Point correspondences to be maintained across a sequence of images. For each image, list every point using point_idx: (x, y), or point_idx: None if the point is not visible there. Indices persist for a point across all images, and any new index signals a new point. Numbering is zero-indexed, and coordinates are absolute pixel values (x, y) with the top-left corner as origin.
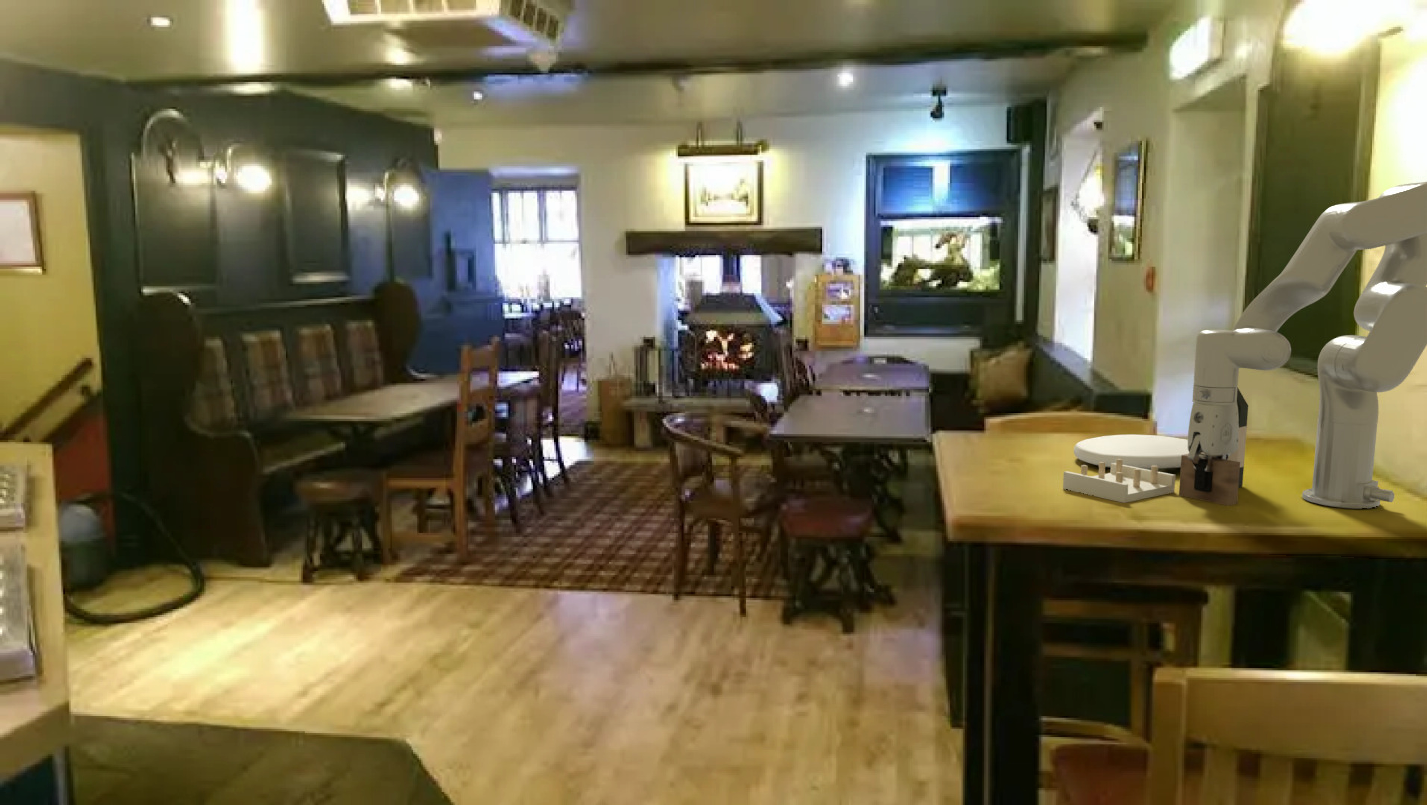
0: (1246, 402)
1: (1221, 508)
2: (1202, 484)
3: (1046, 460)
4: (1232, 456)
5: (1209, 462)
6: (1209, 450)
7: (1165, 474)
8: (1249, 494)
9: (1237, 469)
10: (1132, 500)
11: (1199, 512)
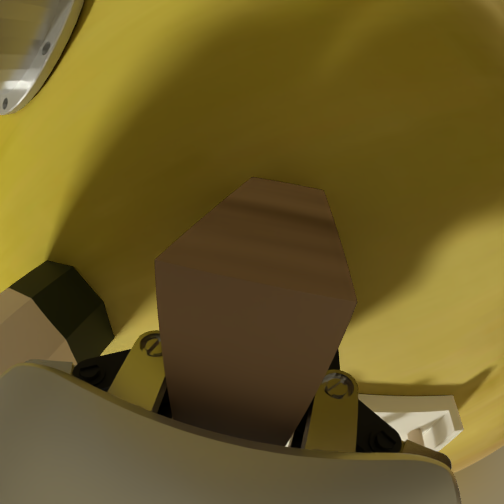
0: None
1: (393, 195)
2: None
3: None
4: (14, 333)
5: (338, 423)
6: (457, 496)
7: None
8: (87, 210)
9: (225, 236)
10: (430, 397)
11: (487, 237)
